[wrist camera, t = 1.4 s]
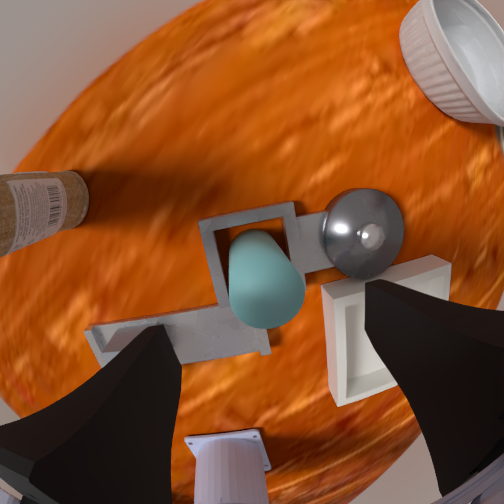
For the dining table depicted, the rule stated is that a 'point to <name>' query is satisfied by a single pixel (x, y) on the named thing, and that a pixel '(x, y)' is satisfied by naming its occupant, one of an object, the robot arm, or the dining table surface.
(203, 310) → the rail
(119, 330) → the carriage
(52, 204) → the sprinkles bottle
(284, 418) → the dining table surface
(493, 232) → the dining table surface
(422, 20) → the ramekin
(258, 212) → the block
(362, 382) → the tray
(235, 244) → the pin
